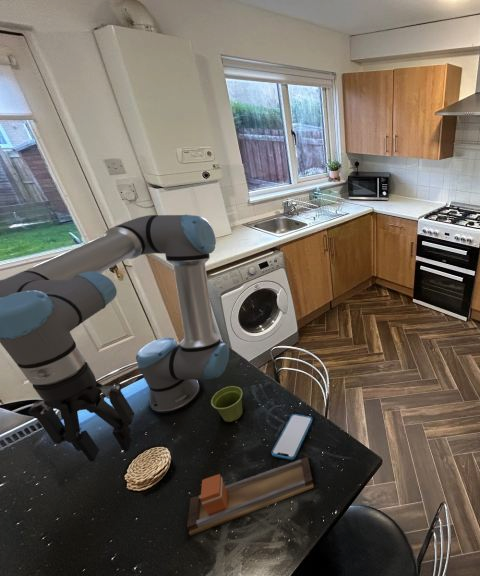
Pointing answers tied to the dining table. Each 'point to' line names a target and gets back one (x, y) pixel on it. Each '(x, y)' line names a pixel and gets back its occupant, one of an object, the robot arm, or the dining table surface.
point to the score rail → (253, 494)
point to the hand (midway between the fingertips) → (111, 450)
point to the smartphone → (292, 437)
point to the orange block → (214, 494)
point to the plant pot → (228, 403)
